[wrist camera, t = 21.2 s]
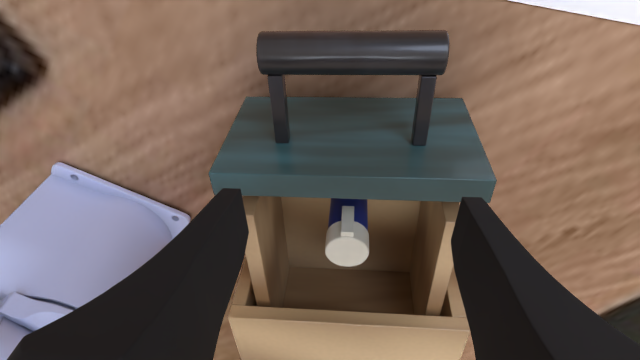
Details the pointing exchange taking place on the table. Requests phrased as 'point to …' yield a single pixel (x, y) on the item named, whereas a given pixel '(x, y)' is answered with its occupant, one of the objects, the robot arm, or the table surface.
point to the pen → (347, 232)
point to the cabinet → (345, 330)
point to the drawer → (352, 173)
